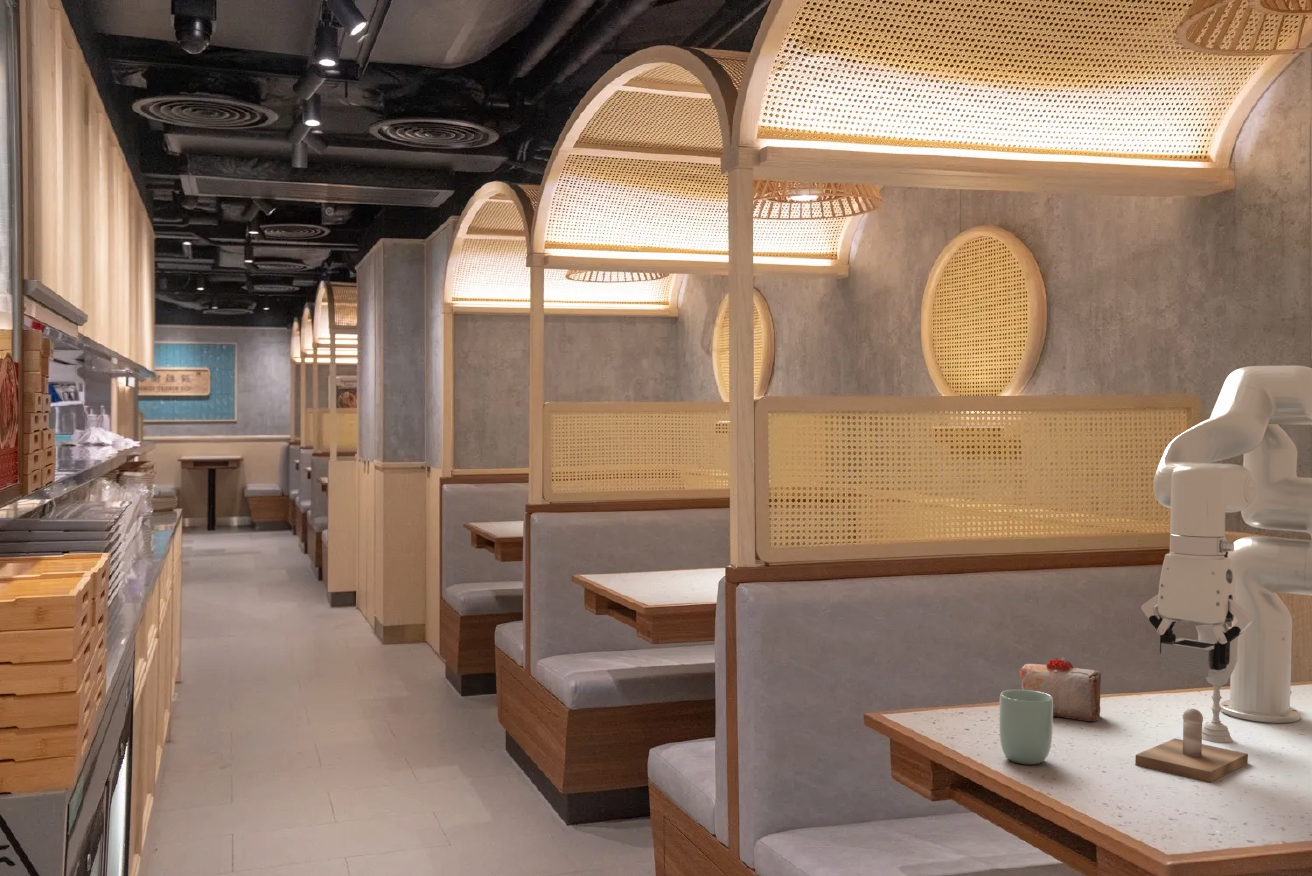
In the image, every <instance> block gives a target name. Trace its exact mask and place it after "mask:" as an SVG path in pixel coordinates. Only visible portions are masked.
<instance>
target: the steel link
mask: <svg viewBox="0 0 1312 876" xmlns="http://www.w3.org/2000/svg"><path fill="white" fill-rule="evenodd" d="M1214 644H1215V643H1212V642H1205V641H1199V640H1198V639H1191V638H1184V637H1178V638H1176V639H1175V640H1171V641H1168V642H1163V643H1161V654H1160V668H1159V669H1160V670H1161V671H1166V672H1174V673H1179V674H1184V675H1191V676H1196V677H1202V678H1203V677H1204V678H1206V677H1211V676H1214V675H1217V674H1220V673H1223V672H1226V671H1227V667H1226V668H1225V669H1222V670H1215V669H1214Z"/></svg>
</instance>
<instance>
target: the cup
mask: <svg viewBox="0 0 1312 876" xmlns="http://www.w3.org/2000/svg"><path fill="white" fill-rule="evenodd" d="M998 711H999V713H998V715H999V716H998V717H999V718H998V722H999V724H998V725H999V727H998V729H999V730H998V731H999V741H1000V746H1001V750H1002V752H1003V754H1004V756H1005V757H1006V758H1007V759H1008V760H1010V762H1014V763H1017V764H1021V765H1038V764H1042V763H1043V762H1044V761H1045V760H1046V759H1047V757H1048V756H1049V754H1050V751H1051V747H1052V741H1053V728H1054V716H1053V697H1052V696H1051V695H1049V694H1047V693H1043V692H1038V691H1031V690H1022V689H1006V690H1003V691H1001V692H1000V695H999V710H998Z"/></svg>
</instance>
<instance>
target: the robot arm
mask: <svg viewBox="0 0 1312 876" xmlns="http://www.w3.org/2000/svg"><path fill="white" fill-rule="evenodd" d="M1216 399H1217V400H1216V402H1215V404H1214V407H1213V409H1212V411H1211V412H1210V413H1211V414H1210V416H1209V418H1208V419H1205V420H1203V421H1201V422H1199V423H1197V424H1196V425H1193V426H1192V427H1191V428H1188V429H1187V430H1185V431H1184V432H1182V433H1181V434H1179V435H1177V436H1176V437H1175V438H1173V439H1172V440H1171V441H1170V442H1169V444H1168V445H1167V446H1166V448H1165V449H1164V452H1163V454H1162V455H1161V458H1160V460H1159V462H1158V465H1157V468H1156V471H1155V474H1154V478H1153V486H1152V487H1153V488H1152V489H1153V495H1154V497H1155V499H1156V501H1157V503H1159V504H1160V505H1161V506H1163V507H1164V508H1167V509H1170V520H1169V521H1170V522H1169V523H1170V524H1169V525H1170V529H1169V533H1170V535H1169V552H1168V553H1166V554H1165V555H1164V558H1163V559H1164V560H1163V563H1162V568H1161V572H1160V577H1159V578H1160V579H1159V584H1158V593H1157V594H1156V595H1154V596H1152V598H1150V599H1148V600H1147V601H1145V602H1144V603H1143V604H1142V605H1141V607H1140V609H1141V611H1142V612H1143V613H1144V615H1145V616H1146V617H1147V618H1148V620H1149V623H1150V624H1151V625H1152V626H1153V628H1155V629H1156V633H1157V634H1158V635H1159V636H1160V637H1159V654H1160V655H1161V643H1163V642H1168V641H1171V640H1175V639H1177V638H1176V637H1177V636H1176V634H1175V633H1173V632H1174V631H1173V630H1174V628H1175V627H1176V625H1177V623H1178V622H1185V623H1190V624H1191V623H1193V624H1194V623H1195V624H1199V625H1211V627H1212V629H1213V631H1214V633H1215V635H1216V637H1217V643H1215V644H1214V669H1215V670H1222V669H1225V668H1226V667H1227V665H1228V664H1229V661H1230V642H1232V641H1233V640H1234V639H1235V638H1236V637H1237V636H1238V655H1237V663H1236V665H1235V668H1234V670H1233V672H1232V674H1231V676H1230V678H1229V679H1230V681H1229V682H1230V683H1229V685H1230V686H1229V690H1230V691H1229V692H1230V693H1229V699H1228V700H1224V701H1222V702H1220V703H1219V705H1220V707H1221V709H1222V710H1221V711H1220V712H1222V713H1224V714H1225V715H1228V716H1230V717H1232V718H1233V717H1234V718H1238V719H1242V720H1248V721H1253V722H1260V723H1270V724H1271V723H1273V724H1274V723H1276V724H1279V723H1280V724H1284V723H1294V722H1297V721H1298V720H1300V719H1301V713H1300V711H1299V710H1297V709H1296V708H1294V707H1291V696H1292V689H1291V684H1292V683H1291V682H1292V681H1291V680H1292V679H1291V678H1292V677H1291V676H1292V675H1291V673H1292V639H1293V637H1292V636H1293V635H1292V633H1293V619H1292V618H1293V617H1292V614H1291V612H1290V610H1289V609H1288V607H1287V606H1286V604H1285V603H1284V602H1283V601H1282V599H1281V598H1280V596H1279V595H1278V594H1284V593H1285V594H1291V595H1292V594H1293V595H1303V596H1312V477H1300V476H1299V477H1298V475H1297V467H1298V466H1297V464H1298V463H1297V462H1298V449H1297V446H1296V445H1295V442H1293V439H1291V437H1290V436H1289V434H1287V432H1286V431H1285V430H1284V429H1283V428H1282V427H1281V426H1280V425H1297V426H1298V425H1300V426H1301V425H1302V426H1304V425H1307V426H1312V367H1308V366H1304V365H1250V366H1244V367H1240V368H1238V369H1237V368H1236V369H1235V370H1233V371H1232V372H1230V373H1229V374H1228V375H1227V376H1226V379H1225V380H1224V382H1223V384H1222V387H1221V389H1220V392H1219V395H1218V397H1217V398H1216ZM1241 455H1243V463H1242V465H1240V464H1234V463H1217V462H1219V461H1223V460H1224V461H1225V460H1228V459H1232V458H1234V457H1238V456H1239V457H1240V456H1241ZM1238 512H1240V513H1241V517H1242V520H1243V522H1244V523H1245V524H1246V525H1248V526H1250V527H1253V528H1257V529H1262V530H1263V529H1264V530H1273V531H1274V530H1276V531H1287V532H1298V533H1299V532H1301V533H1308V535H1310V539H1311V540H1310V539H1297V538H1287V537H1276V536H1275V537H1273V536H1258V535H1257V536H1256V535H1255V536H1253V535H1252V536H1244V537H1240V538H1239V539H1237V540H1235V541H1233V542H1229V541H1228V540H1227V537H1226V513H1238ZM1226 553H1227V554H1226ZM1225 555H1227V557H1225ZM1277 593H1278V594H1277ZM1156 607H1157V610H1156ZM1157 611H1158V613H1157ZM1229 623H1231V627H1232V628H1231V629H1229V627H1230V626H1229Z"/></svg>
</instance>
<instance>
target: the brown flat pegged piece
mask: <svg viewBox="0 0 1312 876" xmlns="http://www.w3.org/2000/svg"><path fill="white" fill-rule="evenodd" d="M1182 720H1183V723H1182V725H1183V727H1182V728H1183V729H1182V739H1181V738H1177V737H1176V738H1172V739H1169V740H1167V741H1165V742H1162V743H1161V744H1158V745H1156V746H1153V747H1152V748H1149V749H1146V750H1144V751H1142V752H1140V753H1137V754H1135V760H1134V761H1135V766H1139V767H1143V768H1147V769H1152V770H1156V771H1161V772H1164V773H1165V772H1166V773H1169V774H1174V775H1177V776H1182V777H1186V778H1192V779H1194V780H1200V781H1203V782H1209V783H1212V782H1214V781H1216V780H1218V779H1220V778H1222V777H1224V776H1226V775H1228V774H1229V773H1231V772H1233V771H1234V772H1235V771H1236V770H1237V769H1240V768H1241V767H1244V766H1245V765H1248V764H1249V763H1248V762H1249V753H1246V752H1242V751H1236V750H1231V749H1228V748H1223V747H1218V746H1213V745H1210V744H1209V745H1208V744H1204V743H1203V739H1202V729H1203V721H1204V716H1203V714H1202V713H1201V711H1200V710H1198V709H1196V708H1188V709H1186V710H1185V711H1184V712H1183V714H1182Z"/></svg>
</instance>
